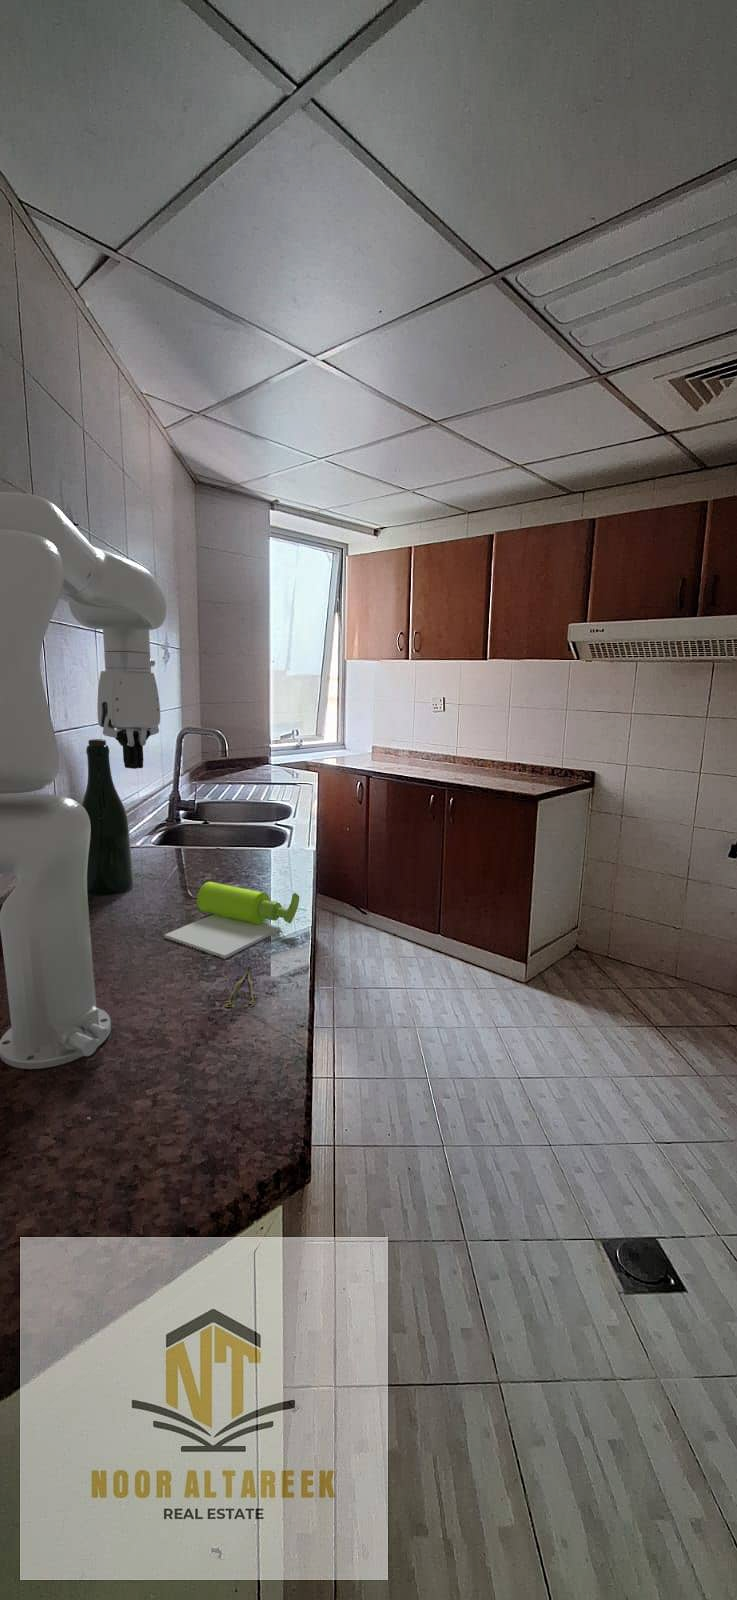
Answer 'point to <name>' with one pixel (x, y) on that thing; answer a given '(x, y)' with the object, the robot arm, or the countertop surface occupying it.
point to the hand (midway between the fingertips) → (133, 767)
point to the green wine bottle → (106, 828)
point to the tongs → (239, 986)
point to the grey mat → (222, 934)
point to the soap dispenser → (243, 903)
